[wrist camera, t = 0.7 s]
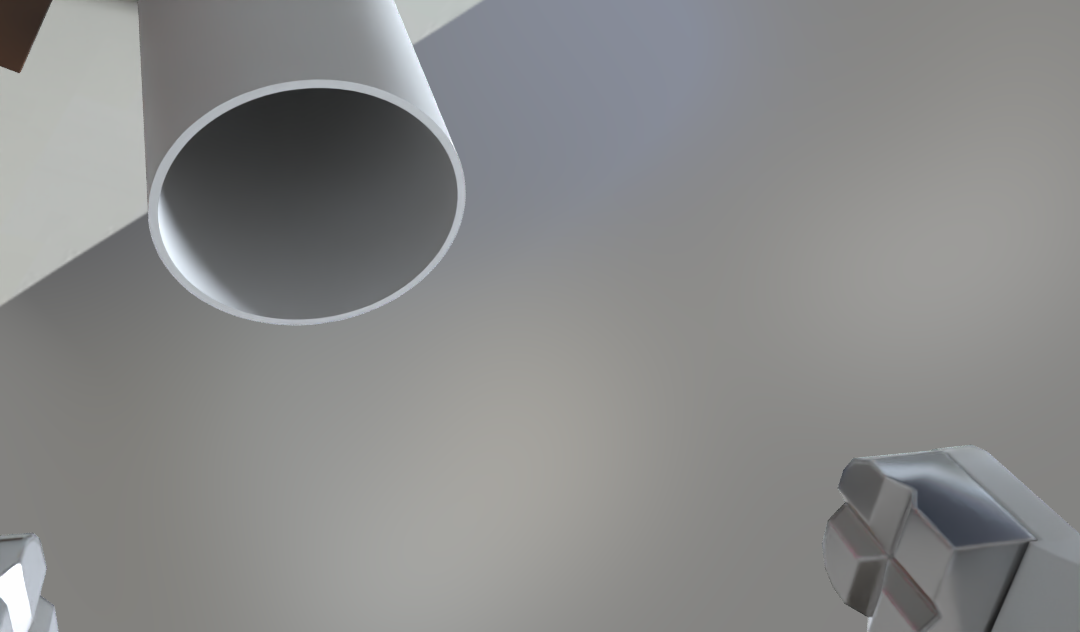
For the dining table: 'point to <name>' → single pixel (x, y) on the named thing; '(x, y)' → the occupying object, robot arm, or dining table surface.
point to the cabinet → (19, 30)
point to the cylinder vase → (293, 156)
